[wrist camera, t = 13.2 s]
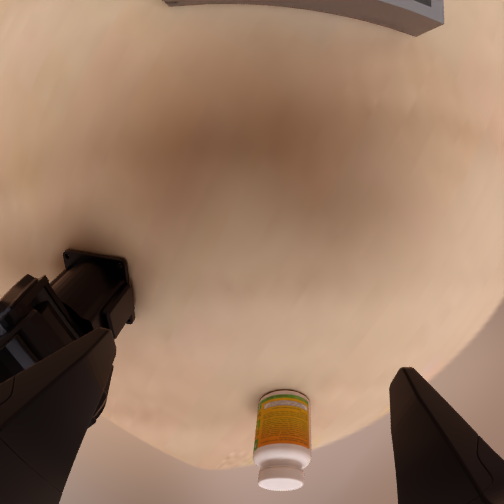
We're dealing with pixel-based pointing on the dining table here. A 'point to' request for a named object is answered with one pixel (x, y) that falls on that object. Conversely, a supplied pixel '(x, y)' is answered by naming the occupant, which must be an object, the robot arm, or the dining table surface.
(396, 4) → the grey bin
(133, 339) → the dining table surface
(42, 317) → the robot arm
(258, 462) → the supplement bottle
